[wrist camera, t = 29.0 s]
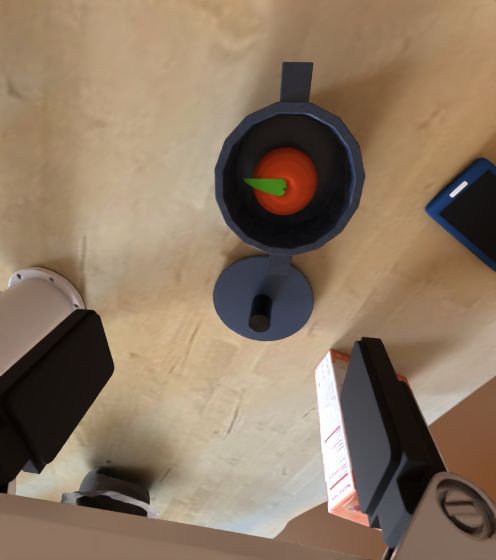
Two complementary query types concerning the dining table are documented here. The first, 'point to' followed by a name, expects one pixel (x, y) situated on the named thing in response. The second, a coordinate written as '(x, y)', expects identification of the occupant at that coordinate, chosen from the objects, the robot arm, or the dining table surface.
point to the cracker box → (339, 438)
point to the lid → (262, 300)
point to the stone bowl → (111, 495)
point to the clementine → (284, 181)
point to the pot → (309, 139)
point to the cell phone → (470, 210)
